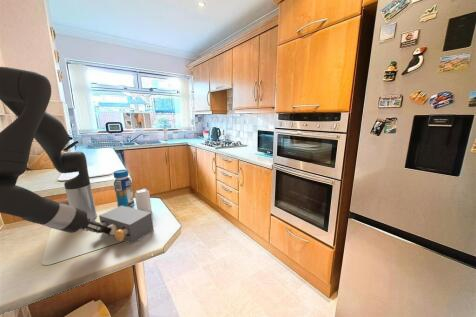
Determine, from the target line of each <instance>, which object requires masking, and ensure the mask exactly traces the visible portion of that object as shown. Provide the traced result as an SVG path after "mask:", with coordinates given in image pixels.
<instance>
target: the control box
mask: <svg viewBox="0 0 476 317" xmlns="http://www.w3.org/2000/svg"><path fill="white" fill-rule="evenodd" d="M98 218H99V222H100V223H103V222H105V221H106V222H107V225H108V226H109V225H111V224H116V225H117V227H118V230H119V229H121V230H123V229H125V228H128V230H129V233H128V234H127V235H125V238H124V239H123V240H122V241H125V242H128V243H131V244H134V243H136V242H137V241H139V240H140V239H142V238H143V237H145V236H146V235H148V234H150V233H151V232H152V231H154V223H153V217H152V212H146V211H142V210H138V209H137V208H132V207H131V206H130V207H126V206H119V207H118V206H117V207H115V208H114V209H110V210H108V211H106V212H104V213H102V214H100V215H99V216H98ZM107 235H108V236H112V237H113V238H115V236H114V234H113V235H111V234H110V233H109V234H107Z"/></svg>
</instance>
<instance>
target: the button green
mask: <svg viewBox="0 0 476 317" xmlns="http://www.w3.org/2000/svg"><path fill="white" fill-rule="evenodd" d="M99 223H100V221H99ZM100 224H101V225H104V226H106V227H108V225H107V222H106V221H105V222H103V223H100ZM95 233H96V234H100V233H99V232H95Z"/></svg>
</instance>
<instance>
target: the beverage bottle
mask: <svg viewBox="0 0 476 317" xmlns="http://www.w3.org/2000/svg"><path fill="white" fill-rule="evenodd" d="M112 173H113V174H112V175H113V177H114V179H115V180H114V181H113V186H114V187H113V189H114V192H115V198H116V204H117V207H119V206H126V207H130V208H131V206H134V204H135V199H134V194H133V184H132V181H131V179H130V178H129V171H128V169H118V170H115V171H113V172H112Z"/></svg>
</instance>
